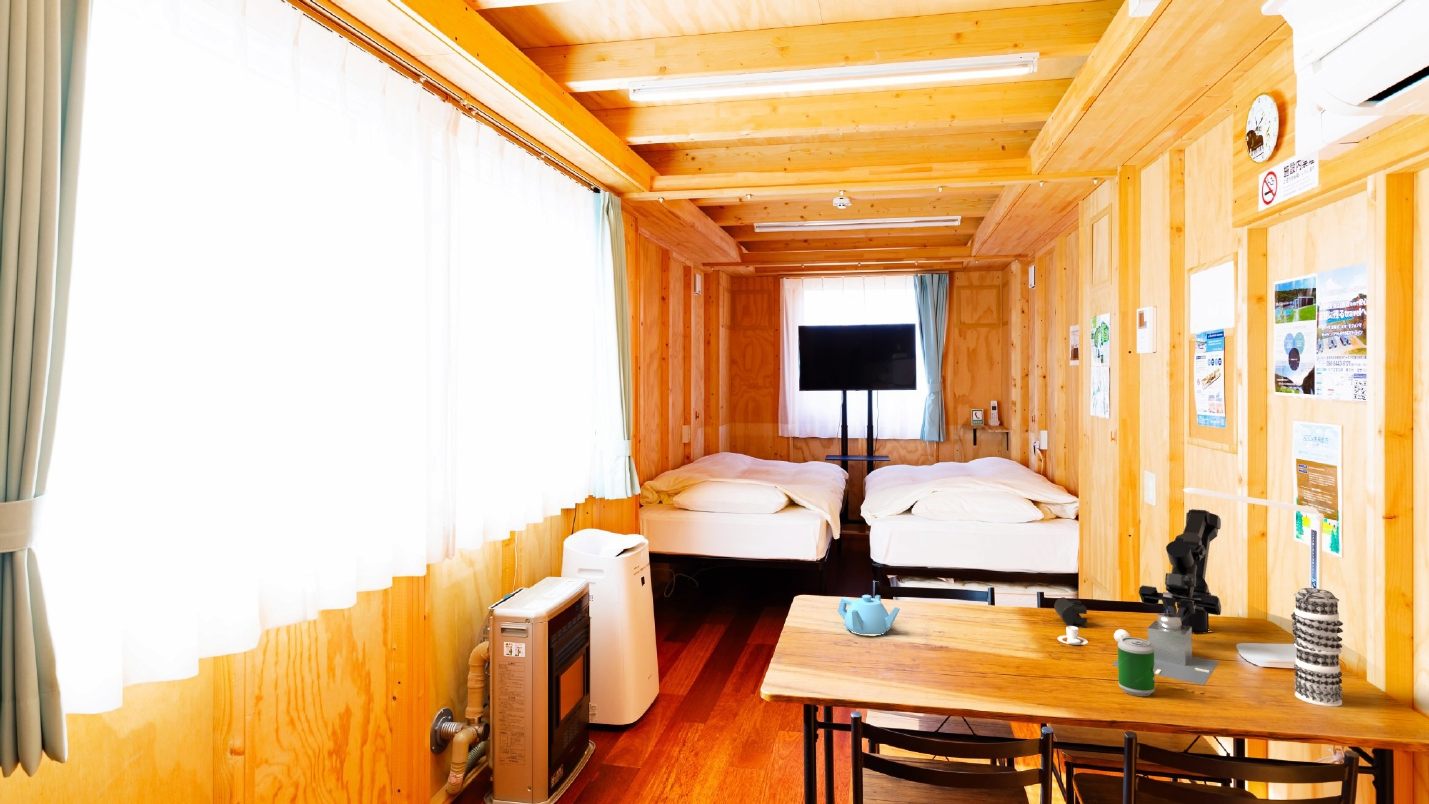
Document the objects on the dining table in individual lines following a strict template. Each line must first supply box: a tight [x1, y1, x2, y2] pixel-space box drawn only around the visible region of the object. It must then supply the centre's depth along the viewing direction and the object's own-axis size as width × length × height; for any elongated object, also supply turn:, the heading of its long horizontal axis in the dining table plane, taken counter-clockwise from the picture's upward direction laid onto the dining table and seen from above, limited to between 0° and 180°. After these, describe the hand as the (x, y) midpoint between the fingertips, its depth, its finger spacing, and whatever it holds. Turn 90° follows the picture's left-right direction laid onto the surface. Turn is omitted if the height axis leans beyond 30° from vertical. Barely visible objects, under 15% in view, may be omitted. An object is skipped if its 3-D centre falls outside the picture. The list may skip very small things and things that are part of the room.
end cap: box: [1053, 596, 1088, 629], centre depth 225 cm, size 10×7×7 cm
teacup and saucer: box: [1057, 625, 1089, 646], centre depth 209 cm, size 9×8×4 cm
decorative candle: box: [1290, 587, 1344, 708], centre depth 166 cm, size 9×9×25 cm
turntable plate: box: [1111, 628, 1219, 686], centre depth 187 cm, size 20×20×10 cm
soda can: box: [1117, 636, 1156, 697], centre depth 173 cm, size 8×8×12 cm
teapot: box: [837, 594, 901, 634], centre depth 222 cm, size 15×15×11 cm
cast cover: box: [1147, 612, 1193, 666], centre depth 191 cm, size 8×8×11 cm
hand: (1174, 626), depth 196 cm, fingers closed
